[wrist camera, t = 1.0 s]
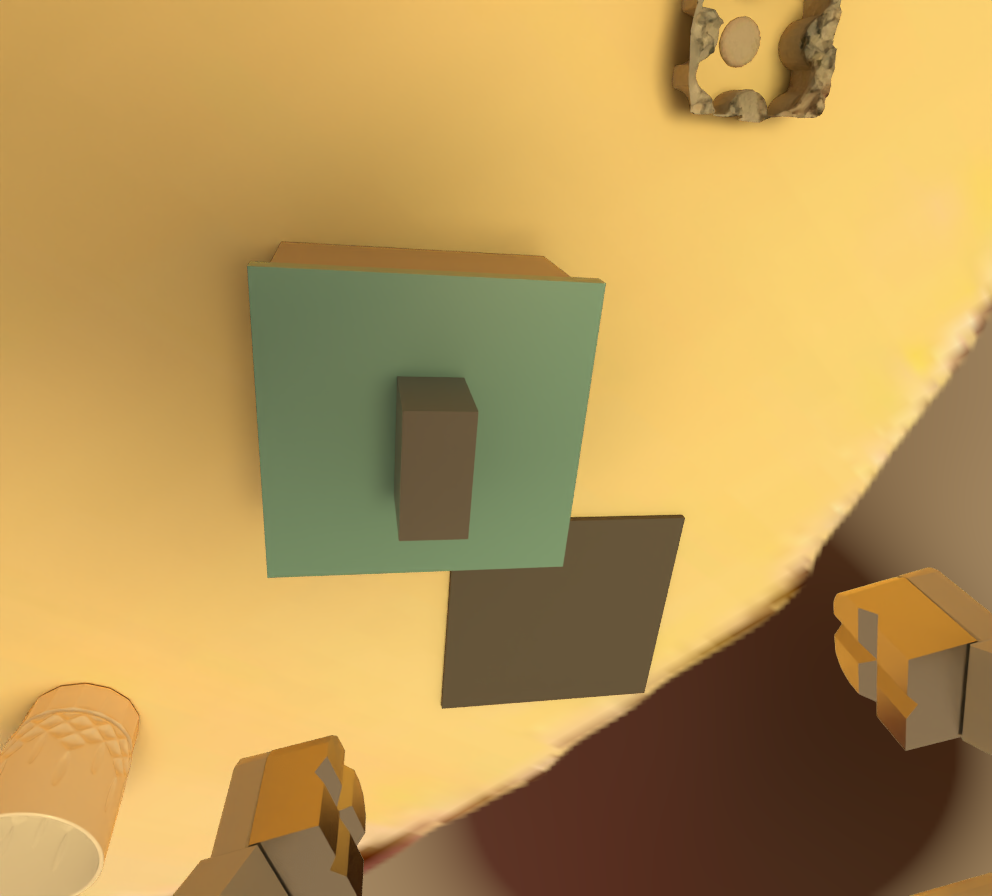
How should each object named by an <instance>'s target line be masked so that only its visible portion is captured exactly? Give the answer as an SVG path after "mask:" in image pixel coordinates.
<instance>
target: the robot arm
mask: <svg viewBox="0 0 992 896" xmlns="http://www.w3.org/2000/svg"><path fill="white" fill-rule="evenodd" d="M834 615H835V616H836V617H837V618H838V619H839V620H840V621H841V623H842V625H841V626H840V628H839V629H838V631H837V633H836V634H835V635H834V636H835V649H836V654H837V657H838V660H839V663H840V666H841V669H842V670H843V672H844V674H845V676H846V677H847V679H848V681H849V682H850V684H851V685H852V686H853V687H854V689H855V690H856V691H857V692H858V694H860V695H862V696H864V697H867V698H869V699H871V700H874V701H876V702H877V717H878V718H879V719H880V720H881V722H882V723H883V724H884V725H885V727H886V728H887V729H888V730H889V731H890V733H891V734H892V735H893V736H894V738H895V739H896V740H897V741H898V742H899V744H900V745H901V746H902V747H903V748H904V750H910V749H914V748H918V747H922V746H926V745H930V744H934V743H938V742H942V741H946V740H950V739H954V738H958V737H962V740H963V741H965V742H967V743H969V744H971V745H973V746H974V747H976V748H978V749H980V750H982V751H984V752H986V753H987V754H989V755H991V756H992V613H991V612H989V611H988V610H987V609H986V608H984V607H983V606H982V605H981V604H979V603H978V602H977V601H976V600H975V599H973V598H972V597H971V596H970V595H968V594H967V593H966V592H965V591H963V590H962V589H961V588H960V587H958V586H957V585H956V584H955V583H953V582H952V581H951V580H950V579H948V578H947V577H946V576H944V575H943V574H942V573H941V572H940V571H938V570H937V569H933V568H930V567H928V568H924V569H921V570H917V571H914V572H910V573H907V574H904V575H900V576H898V577H895V578H890V579H887V580H883V581H880V582H877V583H873V584H870V585H866V586H863V587H859V588H856V589H852V590H849V591H845V592H842V593H839V594H837V595H836V598H835V600H834ZM344 755H345V750H344V748H343V746H342V744H341V742H340V740H339V739H338V737H337V736H333V735H331V736H327V737H323V738H319V739H315V740H311V741H307V742H303V743H299V744H295V745H291V746H287V747H283V748H279V749H276V750H272V751H271V752H267V753H263V754H259V755H255V756H250V757H246V758H242V759H240V761H239V762H238V763H237V765H236V766H235V768H234V770H233V774H232V778H231V782H230V785H229V789H228V793H227V797H226V801H225V805H224V808H223V812H222V816H221V820H220V824H219V828H218V831H217V835H216V839H215V843H214V847H213V850H212V854H211V858H208V859H205V860H201V861H200V862H199V864H198V865H197V866H196V867H195V869H194V870H193V871H192V872H191V874H190V875H189V876H188V877H187V878H186V880H185V881H184V882H183V883H182V885H181V886H180V887H179V888H178V890H177V891H176V892H175V893H174V894H173V896H362V885H363V867H364V860H363V858H362V856H361V854H360V852H359V850H358V848H357V845H358V843H359V842H360V840H361V839H362V837H363V835H364V834H365V821H366V813H365V805H364V797H363V792H362V789H361V785H360V782H359V779H358V777H357V775H356V773H355V771H354V770H353V769H351V768H349V767H347V766H345V765H344ZM910 896H992V872H991V873H987V874H984V875H980V876H977V877H973V878H970V879H966V880H963V881H959V882H956V883H952V884H949V885H945V886H942V887H938V888H935V889H931V890H928V891H924V892H921V893H918V894H914V895H910Z"/></svg>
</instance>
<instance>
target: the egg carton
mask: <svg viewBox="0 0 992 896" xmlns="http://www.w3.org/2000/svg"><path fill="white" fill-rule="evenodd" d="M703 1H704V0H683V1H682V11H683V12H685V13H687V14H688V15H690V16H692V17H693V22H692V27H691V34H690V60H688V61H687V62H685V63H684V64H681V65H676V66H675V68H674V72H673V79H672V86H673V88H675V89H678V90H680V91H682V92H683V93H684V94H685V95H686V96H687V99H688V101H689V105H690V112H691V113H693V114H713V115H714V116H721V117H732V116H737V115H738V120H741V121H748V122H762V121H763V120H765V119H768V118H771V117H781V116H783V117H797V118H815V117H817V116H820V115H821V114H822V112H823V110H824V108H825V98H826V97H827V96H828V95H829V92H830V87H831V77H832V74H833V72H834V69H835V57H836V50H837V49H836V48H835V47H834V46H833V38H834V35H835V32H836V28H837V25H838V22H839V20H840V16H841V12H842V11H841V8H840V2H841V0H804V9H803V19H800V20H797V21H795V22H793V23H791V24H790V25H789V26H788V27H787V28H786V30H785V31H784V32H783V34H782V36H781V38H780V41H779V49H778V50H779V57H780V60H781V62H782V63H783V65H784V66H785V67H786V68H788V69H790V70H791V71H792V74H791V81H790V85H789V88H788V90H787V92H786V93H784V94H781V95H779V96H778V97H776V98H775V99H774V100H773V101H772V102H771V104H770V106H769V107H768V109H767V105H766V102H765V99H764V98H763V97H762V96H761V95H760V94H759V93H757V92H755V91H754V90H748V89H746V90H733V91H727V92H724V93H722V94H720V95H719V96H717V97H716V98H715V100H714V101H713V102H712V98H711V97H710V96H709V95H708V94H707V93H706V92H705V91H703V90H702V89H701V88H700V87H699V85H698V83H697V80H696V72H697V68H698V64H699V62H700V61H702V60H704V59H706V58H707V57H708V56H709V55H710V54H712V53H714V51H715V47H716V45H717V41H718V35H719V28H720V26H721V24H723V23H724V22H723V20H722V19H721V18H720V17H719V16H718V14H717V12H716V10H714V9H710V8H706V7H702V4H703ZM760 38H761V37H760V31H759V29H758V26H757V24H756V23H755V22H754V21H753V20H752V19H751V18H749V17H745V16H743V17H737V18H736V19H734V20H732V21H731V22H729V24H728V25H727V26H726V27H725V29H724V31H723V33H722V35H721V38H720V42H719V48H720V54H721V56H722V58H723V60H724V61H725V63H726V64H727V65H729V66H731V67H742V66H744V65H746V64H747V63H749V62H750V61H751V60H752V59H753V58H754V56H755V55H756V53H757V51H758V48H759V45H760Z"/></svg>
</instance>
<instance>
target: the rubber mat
mask: <svg viewBox="0 0 992 896" xmlns="http://www.w3.org/2000/svg"><path fill="white" fill-rule="evenodd" d="M684 520H685V518H684V516H683V515H663V516H619V517H576V518H570V523H569V530H568V536H567V543H566V549H565V556H564V563H563V567H538V568H512V569H485V570H459V571H451V573H450V587H449V601H448V616H447V630H446V644H445V659H444V673H443V688H442V702H441V706H442V709H443V708H456V707H469V706H482V705H494V704H507V703H520V702H533V701H545V700H558V699H571V698H584V697H597V696H609V695H622V694H635V693H644V691H645V687H646V683H647V679H648V674H649V670H650V666H651V661H652V657H653V653H654V649H655V644H656V640H657V636H658V631H659V627H660V623H661V618H662V614H663V610H664V606H665V601H666V597H667V593H668V588H669V584H670V580H671V576H672V571H673V567H674V563H675V558H676V554H677V550H678V546H679V541H680V537H681V533H682V528H683V524H684Z"/></svg>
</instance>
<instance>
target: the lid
mask: <svg viewBox="0 0 992 896" xmlns="http://www.w3.org/2000/svg"><path fill="white" fill-rule="evenodd" d="M247 271H248V286H249V302H250V317H251V332H252V347H253V363H254V378H255V393H256V409H257V424H258V439H259V454H260V470H261V485H262V500H263V515H264V531H265V546H266V561H267V576H268V578H275V577H301V576H327V575H354V574H380V573H406V572H433V571H459V570H485V569H512V568H538V567H563V563H564V556H565V549H566V543H567V536H568V530H569V523H570V516H571V510H572V503H573V497H574V490H575V483H576V477H577V470H578V464H579V457H580V451H581V444H582V437H583V431H584V424H585V418H586V411H587V404H588V398H589V391H590V385H591V378H592V371H593V365H594V358H595V352H596V345H597V339H598V332H599V325H600V319H601V312H602V306H603V299H604V292H605V286H606V283H604V282H603V281H602V280H600V279H597V278H577V277H557V276H537V275H517V274H497V273H477V272H457V271H437V270H417V269H397V268H377V267H357V266H337V265H317V264H297V263H277V262H258V261H250V263H249V264H248V266H247Z"/></svg>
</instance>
